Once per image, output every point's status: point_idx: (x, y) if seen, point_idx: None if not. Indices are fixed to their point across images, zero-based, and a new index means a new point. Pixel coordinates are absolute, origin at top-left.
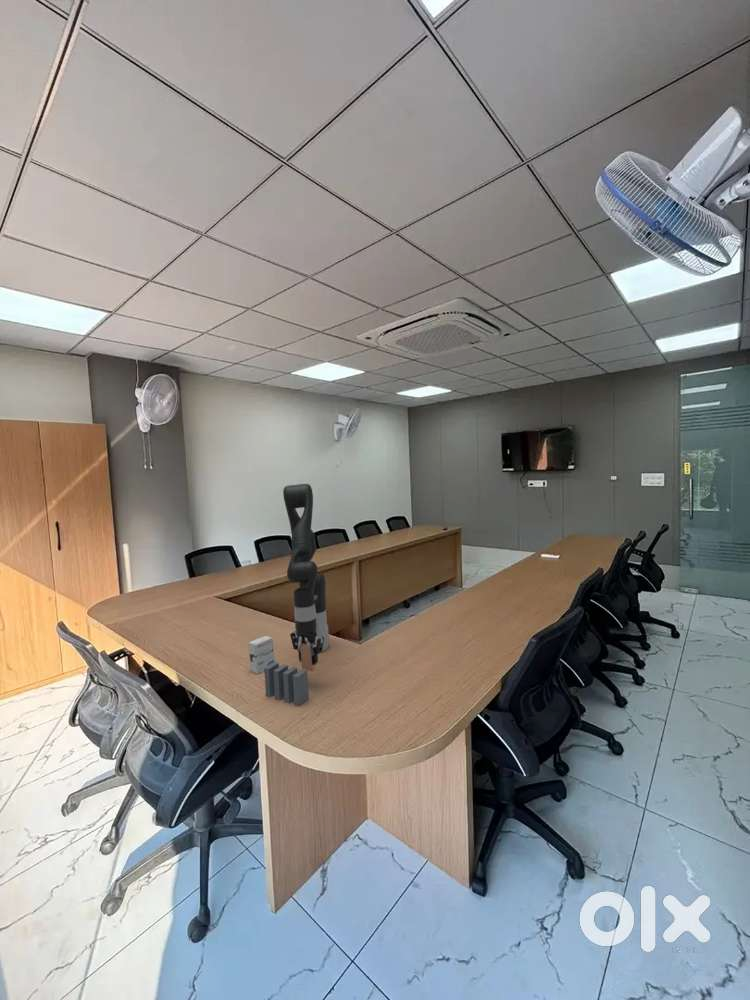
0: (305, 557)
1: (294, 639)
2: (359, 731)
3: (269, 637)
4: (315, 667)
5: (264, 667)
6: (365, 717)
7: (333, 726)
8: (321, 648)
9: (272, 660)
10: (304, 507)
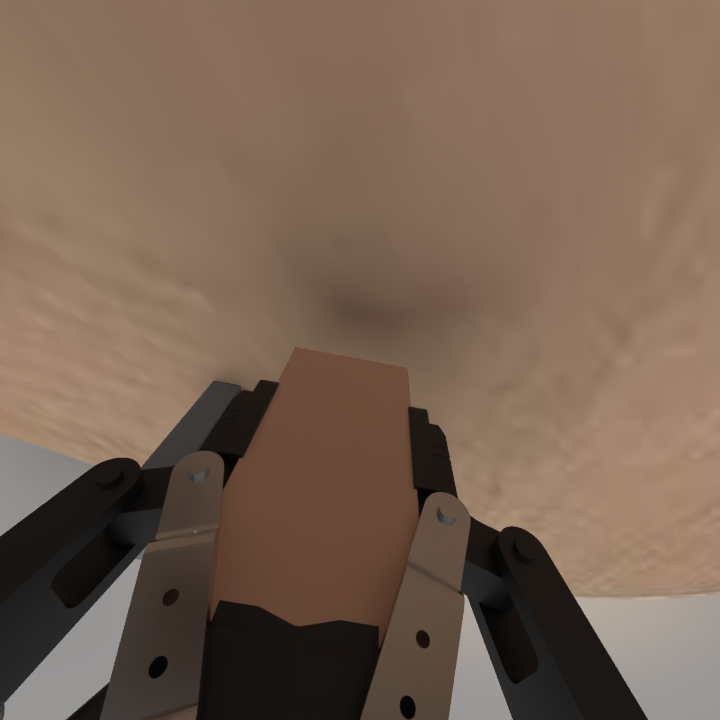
0: None
1: (12, 676)
2: (670, 536)
3: None
4: (405, 382)
5: None
6: (705, 483)
7: (569, 527)
8: (560, 609)
9: None
10: None
